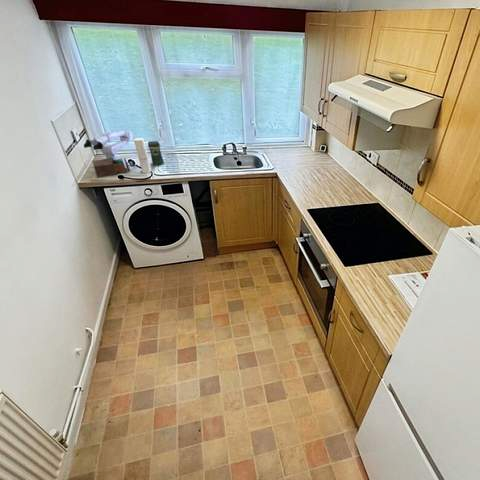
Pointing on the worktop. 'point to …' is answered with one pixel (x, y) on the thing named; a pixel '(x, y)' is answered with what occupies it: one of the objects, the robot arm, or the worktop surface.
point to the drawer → (121, 166)
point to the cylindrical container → (142, 155)
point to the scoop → (117, 160)
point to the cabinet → (104, 167)
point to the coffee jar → (155, 152)
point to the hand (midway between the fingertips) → (88, 147)
